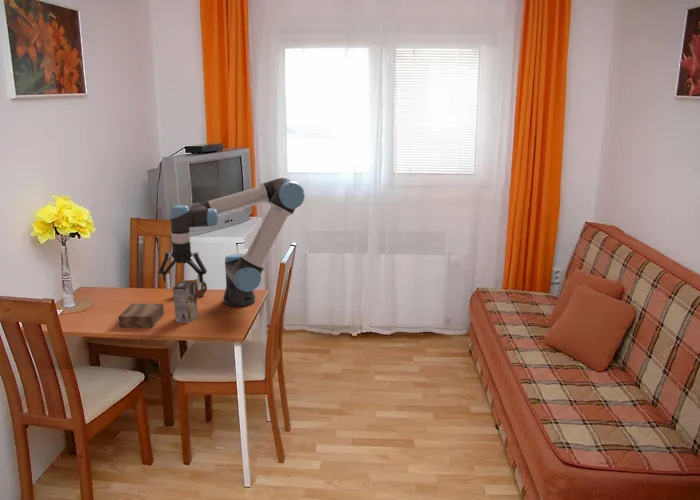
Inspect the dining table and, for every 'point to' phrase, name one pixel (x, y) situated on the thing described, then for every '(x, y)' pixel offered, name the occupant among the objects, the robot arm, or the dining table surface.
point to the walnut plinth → (141, 315)
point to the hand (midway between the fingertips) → (183, 289)
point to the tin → (203, 286)
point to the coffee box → (185, 302)
